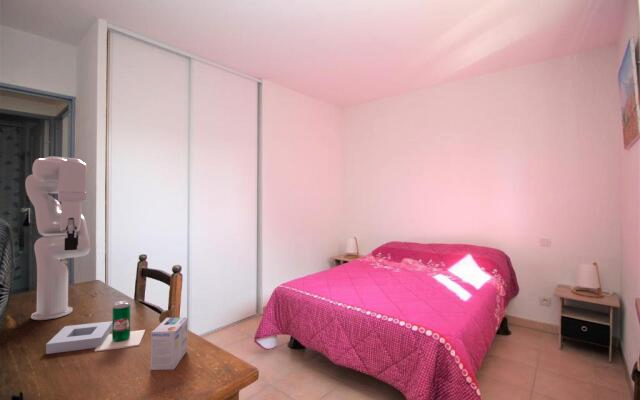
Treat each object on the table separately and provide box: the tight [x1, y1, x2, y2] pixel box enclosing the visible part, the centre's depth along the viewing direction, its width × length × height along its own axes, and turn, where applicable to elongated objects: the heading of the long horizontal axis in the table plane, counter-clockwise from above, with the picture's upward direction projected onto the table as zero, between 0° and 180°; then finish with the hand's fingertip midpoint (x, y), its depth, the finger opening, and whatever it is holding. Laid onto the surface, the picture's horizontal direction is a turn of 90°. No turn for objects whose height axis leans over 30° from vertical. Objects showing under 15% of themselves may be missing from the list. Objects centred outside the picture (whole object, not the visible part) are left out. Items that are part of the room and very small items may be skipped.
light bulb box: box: [150, 316, 189, 371], centre depth 91 cm, size 11×7×11 cm, turn 5°
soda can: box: [111, 300, 131, 342], centre depth 103 cm, size 5×5×12 cm
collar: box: [45, 320, 112, 355], centre depth 103 cm, size 14×14×3 cm
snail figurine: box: [158, 301, 177, 324], centre depth 104 cm, size 5×6×12 cm
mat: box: [93, 329, 146, 353], centre depth 103 cm, size 12×12×1 cm
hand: (71, 247), depth 106 cm, fingers open, 9 cm apart
